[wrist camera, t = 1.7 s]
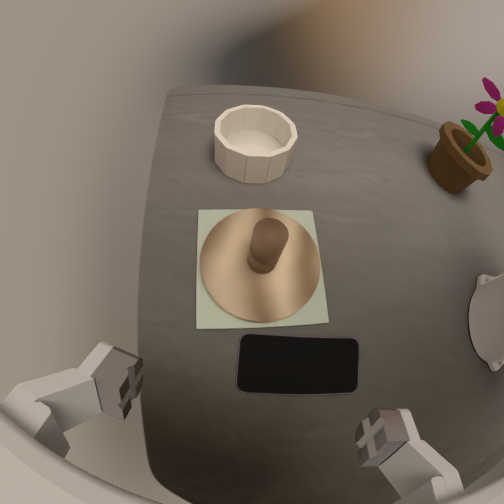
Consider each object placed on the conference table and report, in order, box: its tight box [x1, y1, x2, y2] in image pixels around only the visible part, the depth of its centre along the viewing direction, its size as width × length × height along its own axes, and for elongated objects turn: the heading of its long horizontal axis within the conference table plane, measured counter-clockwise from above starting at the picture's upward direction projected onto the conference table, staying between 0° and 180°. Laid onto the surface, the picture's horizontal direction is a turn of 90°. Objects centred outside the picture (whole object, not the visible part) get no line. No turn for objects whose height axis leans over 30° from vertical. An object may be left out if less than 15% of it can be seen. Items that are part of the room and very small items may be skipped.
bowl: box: [215, 105, 298, 184], centre depth 40 cm, size 12×12×6 cm
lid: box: [200, 208, 321, 323], centre depth 31 cm, size 15×15×8 cm
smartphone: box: [236, 333, 359, 395], centre depth 31 cm, size 7×1×15 cm
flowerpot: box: [428, 77, 504, 194], centre depth 35 cm, size 14×14×30 cm
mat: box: [196, 210, 329, 329], centre depth 35 cm, size 16×16×1 cm
